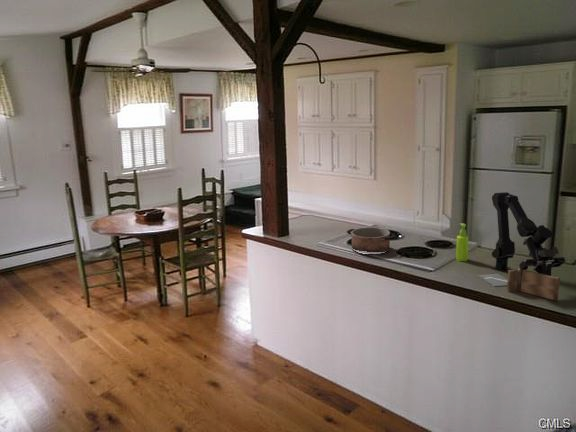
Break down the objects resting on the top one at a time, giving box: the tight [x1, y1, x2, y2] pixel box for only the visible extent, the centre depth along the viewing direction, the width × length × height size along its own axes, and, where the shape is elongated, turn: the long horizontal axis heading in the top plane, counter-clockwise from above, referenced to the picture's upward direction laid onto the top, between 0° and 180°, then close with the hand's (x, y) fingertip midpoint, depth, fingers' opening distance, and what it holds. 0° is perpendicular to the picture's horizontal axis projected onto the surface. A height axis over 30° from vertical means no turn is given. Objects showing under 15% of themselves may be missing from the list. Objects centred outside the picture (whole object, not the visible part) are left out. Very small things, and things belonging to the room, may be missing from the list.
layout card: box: [478, 273, 508, 288], centre depth 219 cm, size 14×10×1 cm
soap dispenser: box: [455, 222, 470, 262], centre depth 247 cm, size 6×7×20 cm
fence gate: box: [520, 269, 561, 302], centre depth 198 cm, size 15×2×10 cm, turn 39°
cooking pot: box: [346, 226, 396, 252], centre depth 272 cm, size 30×22×11 cm
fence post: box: [506, 267, 523, 293], centre depth 205 cm, size 6×2×10 cm, turn 96°
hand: (550, 281), depth 197 cm, fingers closed
